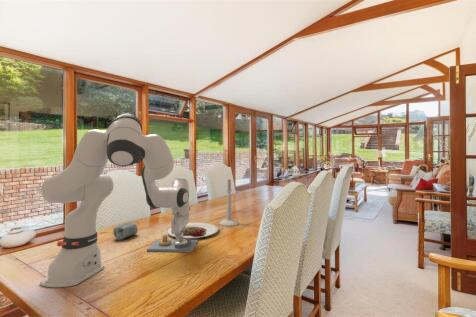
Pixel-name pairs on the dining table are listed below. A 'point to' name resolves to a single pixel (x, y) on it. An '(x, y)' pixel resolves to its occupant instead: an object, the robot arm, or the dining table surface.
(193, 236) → the plated food
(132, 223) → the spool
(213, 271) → the dining table surface
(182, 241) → the silver rounded piece
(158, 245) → the carrier
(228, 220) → the grey rod on disc
